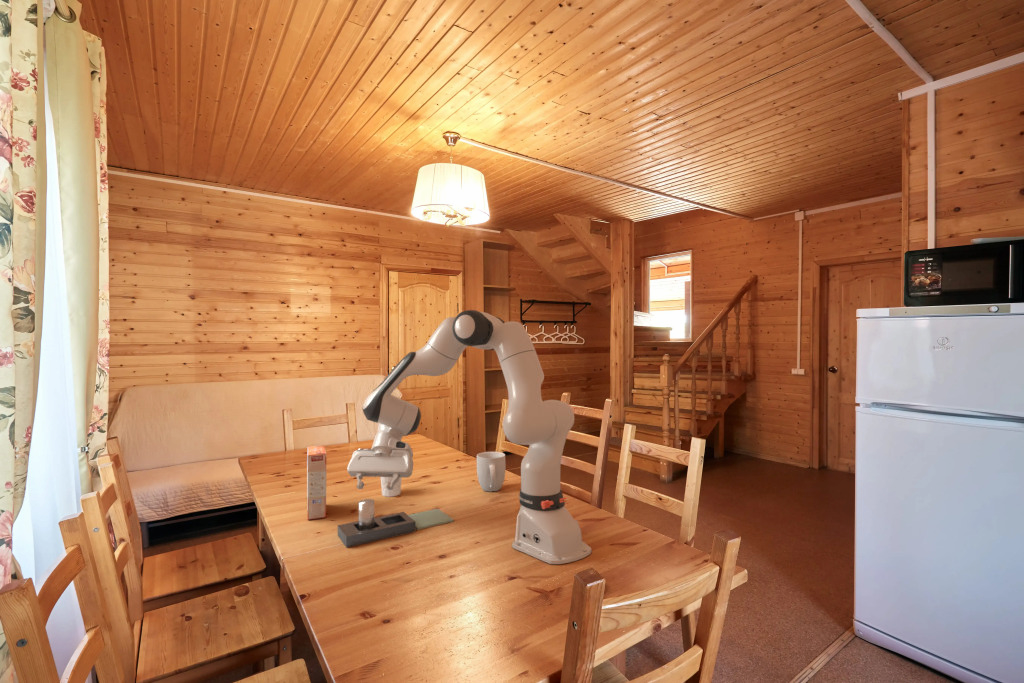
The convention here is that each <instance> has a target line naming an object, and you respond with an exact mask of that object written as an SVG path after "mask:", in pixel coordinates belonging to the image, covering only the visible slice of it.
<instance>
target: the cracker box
mask: <svg viewBox="0 0 1024 683" xmlns="http://www.w3.org/2000/svg"><path fill="white" fill-rule="evenodd" d="M306 452H307V456H306V458H307V459H306V513H307V514H306V515H307V520H317V519H324V518H325V519H326V518H327V450H326V446H325V445H313V446H312V445H311V446H307V451H306Z"/></svg>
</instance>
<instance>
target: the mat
mask: <svg viewBox="0 0 1024 683" xmlns="http://www.w3.org/2000/svg"><path fill="white" fill-rule="evenodd" d="M407 515H408V516H409V517H411V518H412V519H413V520H414V521H415V524H416V530H417V531H418V530H423V529H427V528H431V527H434V526H435V527H436V526H440V525H444V524H448V523H453V522H454V521H455V519H453V518H452V517H451V516H449V515H448V514H446V513H445V512H444V511H442V510H440V509H439V508H434V509H429V510H425V511H420V512H416V513H412V514H407ZM454 523H455V522H454Z"/></svg>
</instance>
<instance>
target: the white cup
mask: <svg viewBox="0 0 1024 683" xmlns="http://www.w3.org/2000/svg"><path fill="white" fill-rule="evenodd" d="M393 478H394V477H380V486H381V495H382V496H383V497H396V496H399V495H401V493H402V480H403V477H400V478H399V481H398V482H397V483H396V484H395V485H394V487H393V490H388V488H387V485H388V482H391V481H392V480H393Z"/></svg>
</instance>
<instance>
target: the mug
mask: <svg viewBox="0 0 1024 683" xmlns="http://www.w3.org/2000/svg"><path fill="white" fill-rule="evenodd" d="M506 463H507V462H506V454H505V453H504V452H500V451H483V452H480V453H477V454H476V473H477V474H476V475H477V480H478V484H479V485H480V487H481V489H482V490H483V491H484V492H492V491H494V492H497V491H500V489H501V488H502V487H503V485H504V481H505V478H506Z"/></svg>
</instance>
